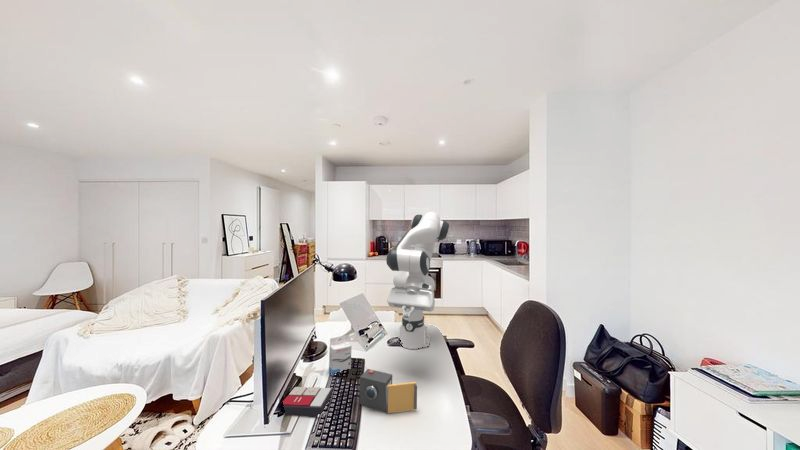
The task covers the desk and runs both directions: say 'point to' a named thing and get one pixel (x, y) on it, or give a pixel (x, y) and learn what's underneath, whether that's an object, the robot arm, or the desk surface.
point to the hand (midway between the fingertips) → (406, 317)
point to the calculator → (307, 401)
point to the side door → (401, 397)
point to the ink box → (339, 354)
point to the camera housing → (374, 389)
